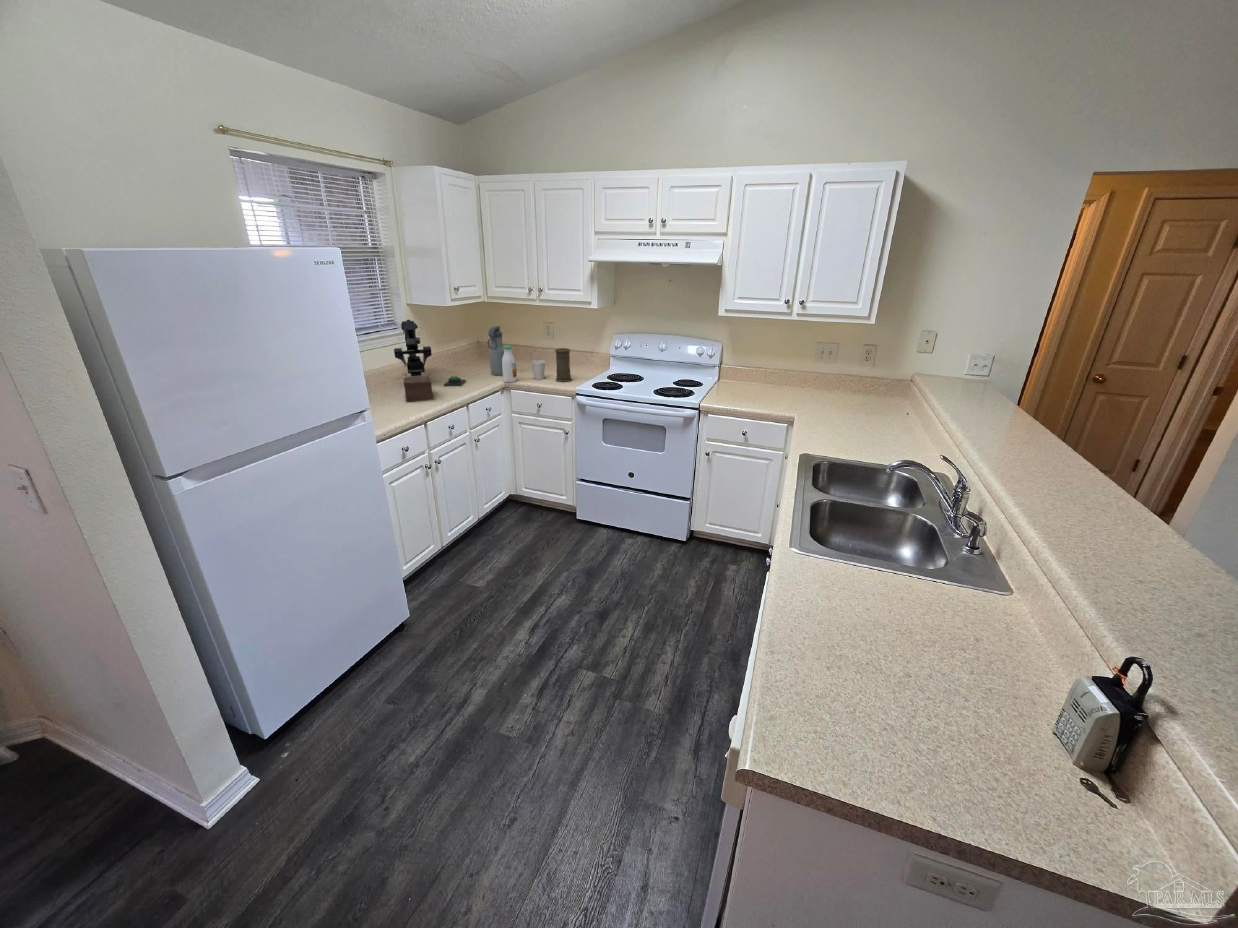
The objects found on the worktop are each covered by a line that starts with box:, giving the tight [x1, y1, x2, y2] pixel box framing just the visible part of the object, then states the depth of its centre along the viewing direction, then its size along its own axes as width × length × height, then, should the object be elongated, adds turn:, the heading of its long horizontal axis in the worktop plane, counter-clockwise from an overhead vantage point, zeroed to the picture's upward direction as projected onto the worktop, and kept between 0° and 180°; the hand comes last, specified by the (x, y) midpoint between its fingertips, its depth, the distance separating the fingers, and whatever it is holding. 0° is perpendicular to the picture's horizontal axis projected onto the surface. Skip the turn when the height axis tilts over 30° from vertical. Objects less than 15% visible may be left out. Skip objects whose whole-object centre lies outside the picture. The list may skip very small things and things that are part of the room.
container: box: [554, 347, 572, 383], centre depth 295 cm, size 9×9×18 cm
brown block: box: [403, 374, 434, 403], centre depth 261 cm, size 14×13×10 cm
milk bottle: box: [502, 345, 518, 383], centre depth 293 cm, size 8×8×20 cm
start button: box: [450, 375, 459, 379], centre depth 288 cm, size 4×4×2 cm
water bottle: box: [487, 325, 504, 376], centre depth 307 cm, size 10×10×28 cm
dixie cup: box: [530, 359, 547, 380], centre depth 301 cm, size 8×8×10 cm
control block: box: [443, 376, 466, 387], centre depth 289 cm, size 11×9×3 cm
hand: (415, 365), depth 274 cm, fingers open, 9 cm apart
